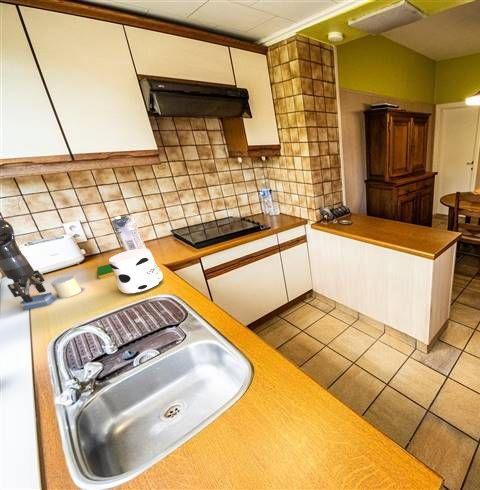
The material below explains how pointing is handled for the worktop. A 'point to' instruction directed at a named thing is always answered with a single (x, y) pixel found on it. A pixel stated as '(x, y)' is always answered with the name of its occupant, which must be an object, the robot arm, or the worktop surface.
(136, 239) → the juice carton
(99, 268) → the dish sponge
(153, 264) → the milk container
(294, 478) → the worktop surface
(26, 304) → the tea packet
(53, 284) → the yogurt pot
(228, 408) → the worktop surface
